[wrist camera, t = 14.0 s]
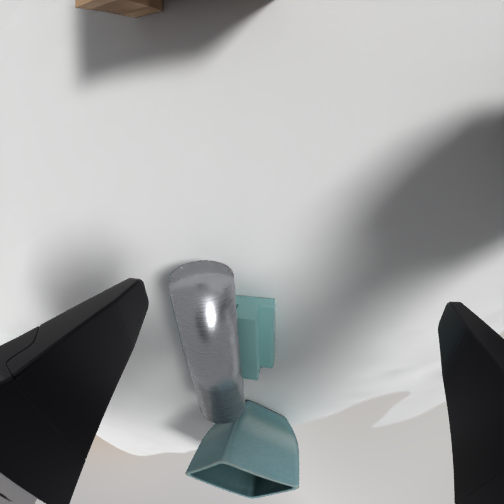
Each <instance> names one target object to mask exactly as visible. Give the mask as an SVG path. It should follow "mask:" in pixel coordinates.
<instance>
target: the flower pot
mask: <svg viewBox="0 0 504 504" xmlns="http://www.w3.org/2000/svg"><path fill="white" fill-rule="evenodd" d="M186 475H188V476H190V477H193V478H195V479H197V480H200V481H202V482H205V483H207V484H210V485H213V486H216V487H218V488H221V489H223V490H226V491H229V492H232V493H235V494H238V495H241V496H244V497H248V498H259V497H264V496H268V495H273V494H278V493H282V492H287V491H291V490H295V489H298V488H299V449H298V442H297V439H296V436H295V434H294V431H293V430H292V427H291V426H290V424H289V422H288V421H287V419H286V418H285V417H284V416H282V415H279V414H277V413H275V412H273V411H271V410H268V409H266V408H264V407H262V406H260V405H258V404H256V403H254V402H252V401H246V402H245V410H244V412H243V414H242V415H241V416H240V417H239V418H238V419H237V420H235V421H233V422H230V423H226V424H218V423H216V424H215V425H214V426H213V427H212V428H211V429H210V431H209V432H208V433H207V434H206V436H205V437H204V438H203V440H202V442H201V444H200V445H199V447H198V449H197V451H196V453H195V455H194V457H193V459H192V461H191V463H190V465H189V467H188V469H187V471H186Z"/></svg>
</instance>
